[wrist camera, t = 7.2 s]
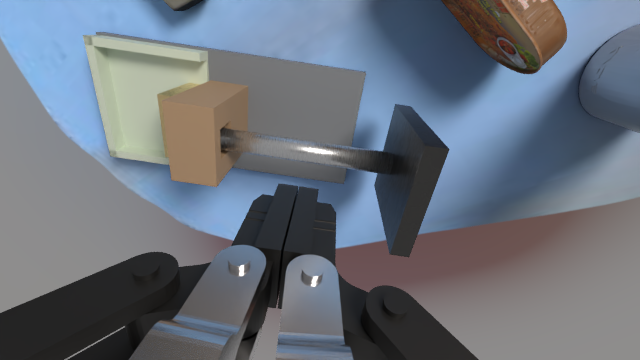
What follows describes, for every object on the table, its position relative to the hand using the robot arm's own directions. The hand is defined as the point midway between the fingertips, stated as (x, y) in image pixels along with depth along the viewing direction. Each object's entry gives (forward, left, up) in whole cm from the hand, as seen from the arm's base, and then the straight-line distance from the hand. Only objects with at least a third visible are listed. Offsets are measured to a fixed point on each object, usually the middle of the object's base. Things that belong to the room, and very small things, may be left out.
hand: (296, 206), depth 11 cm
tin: (-12, -10, -23) cm, 28 cm away
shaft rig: (+10, +4, -23) cm, 25 cm away
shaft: (+1, +4, -19) cm, 19 cm away
